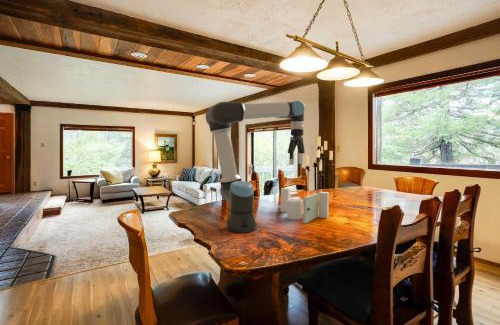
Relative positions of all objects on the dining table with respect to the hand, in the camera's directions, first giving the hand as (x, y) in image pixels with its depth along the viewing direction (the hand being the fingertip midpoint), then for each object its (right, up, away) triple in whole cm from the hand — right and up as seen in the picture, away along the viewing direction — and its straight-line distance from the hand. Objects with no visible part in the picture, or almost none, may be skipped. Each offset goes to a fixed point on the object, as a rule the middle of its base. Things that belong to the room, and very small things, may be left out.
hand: (296, 164), depth 161 cm
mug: (-1, -32, -4) cm, 32 cm away
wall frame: (+5, -31, +5) cm, 32 cm away
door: (+8, -32, -10) cm, 34 cm away
